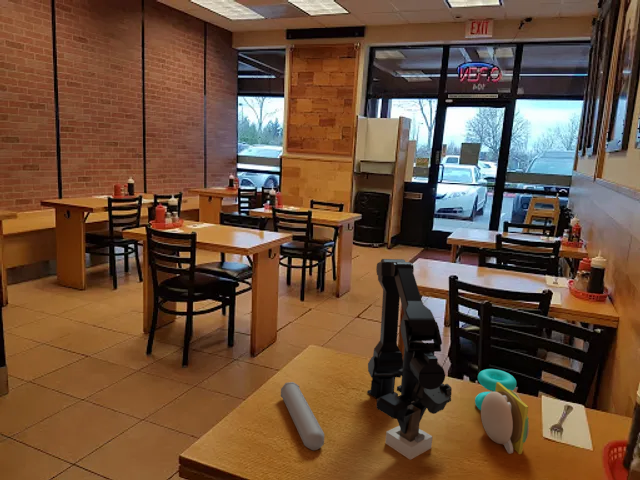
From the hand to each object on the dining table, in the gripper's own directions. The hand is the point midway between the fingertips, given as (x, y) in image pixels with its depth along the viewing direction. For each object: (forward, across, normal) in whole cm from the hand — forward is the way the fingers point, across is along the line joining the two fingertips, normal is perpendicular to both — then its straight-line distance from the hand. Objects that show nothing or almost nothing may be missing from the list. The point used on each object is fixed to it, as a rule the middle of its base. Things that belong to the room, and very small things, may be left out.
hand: (409, 430), depth 112 cm
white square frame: (+4, 0, 0) cm, 4 cm away
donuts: (+4, +33, -3) cm, 33 cm away
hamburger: (+4, +21, -12) cm, 24 cm away
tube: (+4, -15, +22) cm, 27 cm away
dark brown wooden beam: (+4, 0, 0) cm, 4 cm away
